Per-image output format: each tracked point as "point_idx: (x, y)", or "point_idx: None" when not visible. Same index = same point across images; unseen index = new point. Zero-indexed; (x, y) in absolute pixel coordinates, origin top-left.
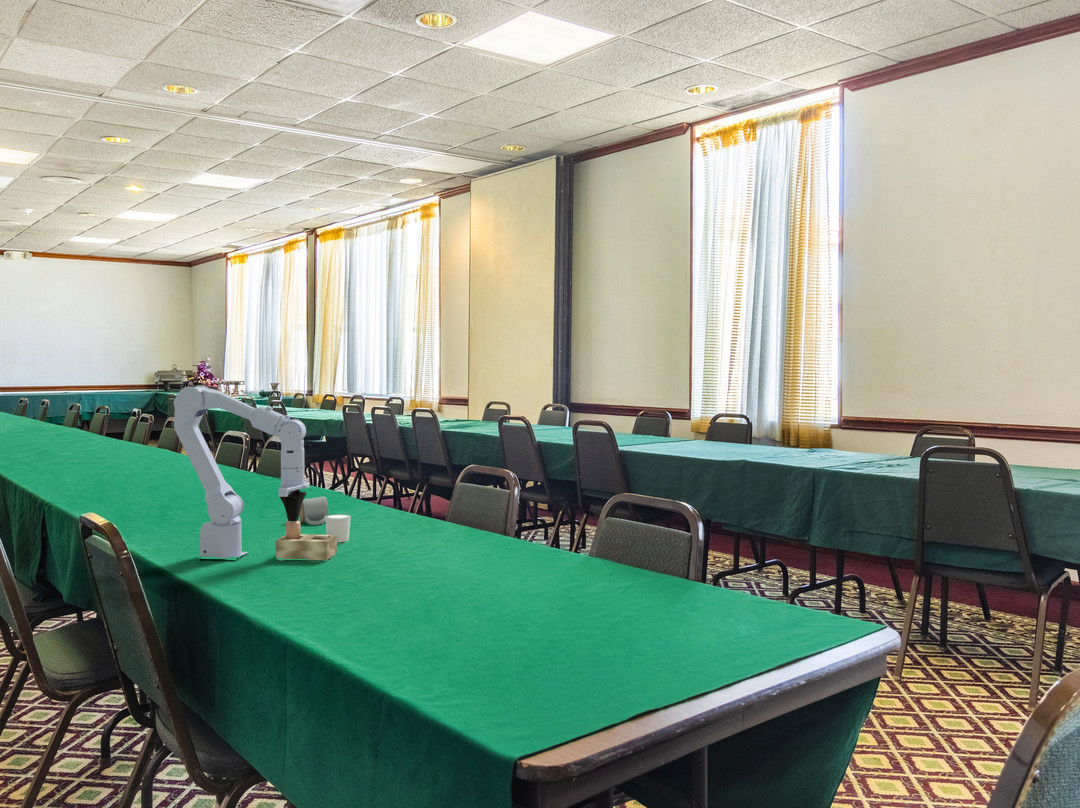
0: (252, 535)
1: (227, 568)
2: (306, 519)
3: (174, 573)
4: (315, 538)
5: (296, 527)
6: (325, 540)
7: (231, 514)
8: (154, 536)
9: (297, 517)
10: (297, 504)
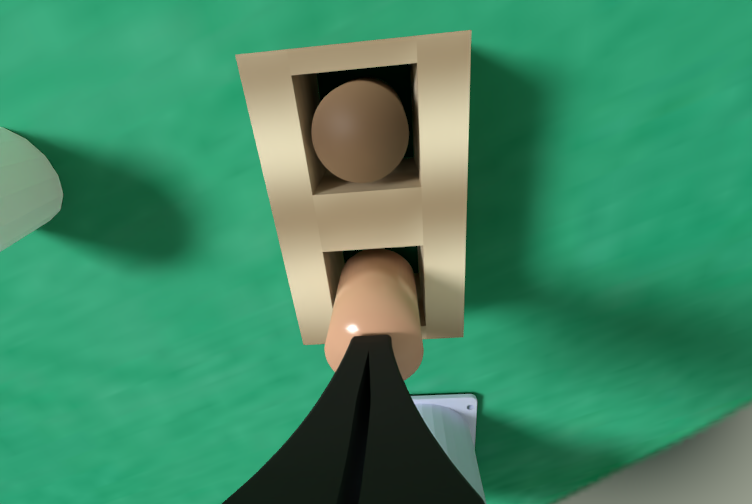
0: (114, 471)
1: (579, 375)
2: None
3: (631, 461)
4: (405, 151)
5: (403, 302)
6: (436, 59)
7: None
8: None
9: (378, 348)
10: (434, 437)
